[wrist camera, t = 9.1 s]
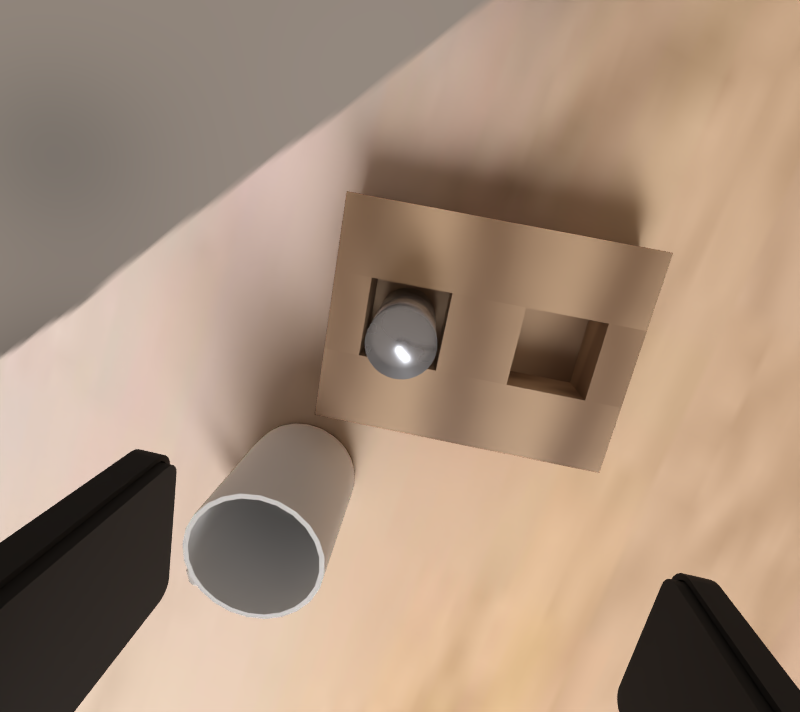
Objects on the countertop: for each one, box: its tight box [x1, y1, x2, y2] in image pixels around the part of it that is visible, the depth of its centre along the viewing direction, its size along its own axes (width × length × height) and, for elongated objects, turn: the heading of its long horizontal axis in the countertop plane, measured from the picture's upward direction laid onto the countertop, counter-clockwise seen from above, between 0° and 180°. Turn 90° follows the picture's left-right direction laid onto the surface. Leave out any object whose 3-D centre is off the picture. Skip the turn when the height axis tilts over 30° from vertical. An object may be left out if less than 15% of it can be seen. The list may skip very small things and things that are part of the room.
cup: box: [183, 423, 354, 619], centre depth 28 cm, size 7×10×9 cm
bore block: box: [315, 191, 673, 473], centre depth 26 cm, size 16×12×4 cm
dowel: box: [365, 288, 437, 379], centre depth 24 cm, size 3×3×7 cm
